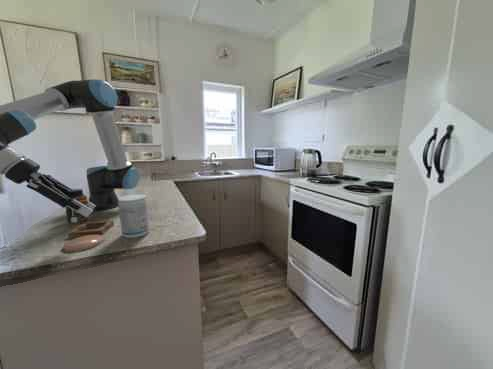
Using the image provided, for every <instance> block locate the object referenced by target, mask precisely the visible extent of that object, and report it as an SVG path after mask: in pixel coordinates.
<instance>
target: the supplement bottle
mask: <svg viewBox="0 0 493 369" xmlns="http://www.w3.org/2000/svg"><path fill="white" fill-rule="evenodd" d="M71 189H72V190H68V191H67V194H68V197H70V198H71V199H72V200H73V199H75V200H77V201H78V202H80V203H82V204H83V205H85V206H87V207H88V201H89V199H88V196H86V195H85V194H84V192H83V189H82V188H74V189H73V188H71ZM64 208H65V214H66V218H67V224H68V225H71V226H76V225H78V226H79V225H82V224H83V223H87V222H90V220H91V214H90V215H88V217H85V216H83V215H82V214H80V213H78V212H76V211H74V210H73V209H71V208H69V207H67V205H66V206H65V207H64ZM88 208H89V207H88Z"/></svg>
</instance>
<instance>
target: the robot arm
mask: <svg viewBox="0 0 493 369" xmlns="http://www.w3.org/2000/svg"><path fill="white" fill-rule="evenodd" d="M118 98H119V97H118V94H117V92H116V90H115V89H114V88H113V86H112V85H111V84H110V83H109V82H107V80H103V79H95V78H94V79H81V80H70V81H69V80H68V81H65V82H62V83H60V84H57V85H54V86H51V87H47V88H45V90H44V91H43V92H41V93H38V94H35V95H31V96H28V97H24V98H22V99H21V98H20V99H17V100H15V101H14V100H13V101H11V102H8V103H4V104H1V105H0V175H2V176H3V175H4V178H6V179H7V180H9V181H10V182H11V181H12V182H13V183H15V184H17V185H20V184H23V183H24V182H26V183H27V184H26V185H25V187H26V188H28V189H31V190H33V191H35V192H37V193H38V194H40V195H41V196H43V197H45V198H47V199H48V200H50V201H52V202H53V203H55V204H57V206H58V205H59V206H60V207H61V208H63V209H64V208H66V207H65V206H66V205H67V207H69V208H71V209H73V210H74V211H76V212H78V213H80V214H82V215H83V216H85V217H88V215H89V214H90V215H91V214H92V212H93V211H105V210H110V209H114V208H116V207H119V206H118V199H119V197H118V196H117V194H116V191H115V190H131V189H134V188H136V187H137V185H138V184H139V181H140V178H141V177H140V176H141V175H140V172H139V169H138V168H136V167H133V164H132V162H130V161H129V160H128V159H127V156H126V152H125V149H124V146H123V143H122V139H121V136H120V133H119V128H118V127H117V123H116V120H115V117H114V114H115V112H116V108H115V107H116V106H118V101H119V99H118ZM72 109H85V112H86V114H88V115H90V116H91V118H92V121H93V122H94V126H95V129H96V131H97V134H98V137H99V140H100V143H101V146H102V148H103V152H104V153H105V157H106V160H107V163H108V164H106V165H100V166H93V167H87V169H86V170H85V171H86V175H85V176H86V180H87V186H88V191H89V192H88V193H89V197H88V207H89V208H88V207H87V206H85V205H83V204H82V203H80V202H78V201H77V200H75V199H73V200H72V199H71V198H70V197H68V194H67V191H68V190H72V189H73V188H71V187H69V186H67V185H66V184H64V183H62V182H61V181H59V180H58V179H56V178H54V177H53V176H52V175H50V174H45V173H43V174H42V172H39V170H40V169H41V165H40V164H39V163H37V162H35V161H34V160H32V159H30V158H26V155H24V154H23V153H21V152H19V151H18V150H16V149H14V148H13V147H11V146H9V145H10V144H12V143H13V142H14V143H15V142H16V141H18V140H20V139H22V138H24V137H26V136H29V135H30V134H31V133H32V132H35V131H36V129H37V124H36V121H35V120H37V119H40V118H42V117H45V116H48V115H50V114H52V113H55V112H58V111H59V112H64V111H68V110H72Z"/></svg>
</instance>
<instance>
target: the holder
mask: <svg viewBox="0 0 493 369" xmlns="http://www.w3.org/2000/svg"><path fill="white" fill-rule="evenodd" d="M114 223H115V222H114V220H104V221H88V222H86V223H83V224H79V225H78V226H77V227H76V228H74V229H72V230H71V231H69V232H67V234H68V239H75V238H79V237H82V236H87V235H102V236H103V235H104V234H105V233H107V232H108V231H109V230H110V229H112V227H113V226H115V224H114ZM94 228H98V229H94ZM88 229H89V230H88Z"/></svg>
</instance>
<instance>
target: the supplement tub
mask: <svg viewBox="0 0 493 369" xmlns="http://www.w3.org/2000/svg"><path fill="white" fill-rule="evenodd" d="M117 207H118V213H119V220H120V227H121V228H120V229H121V234H122V236H123V237H124V238H127V239H134V238H135V239H136V238H140V237H143V236H145V235H147V234H148V233H149V232H150V221H149V219H150V218H149V209H148V200H147V196H146V195H145V194H128V195H124V196H120V197H118V206H117Z"/></svg>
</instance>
